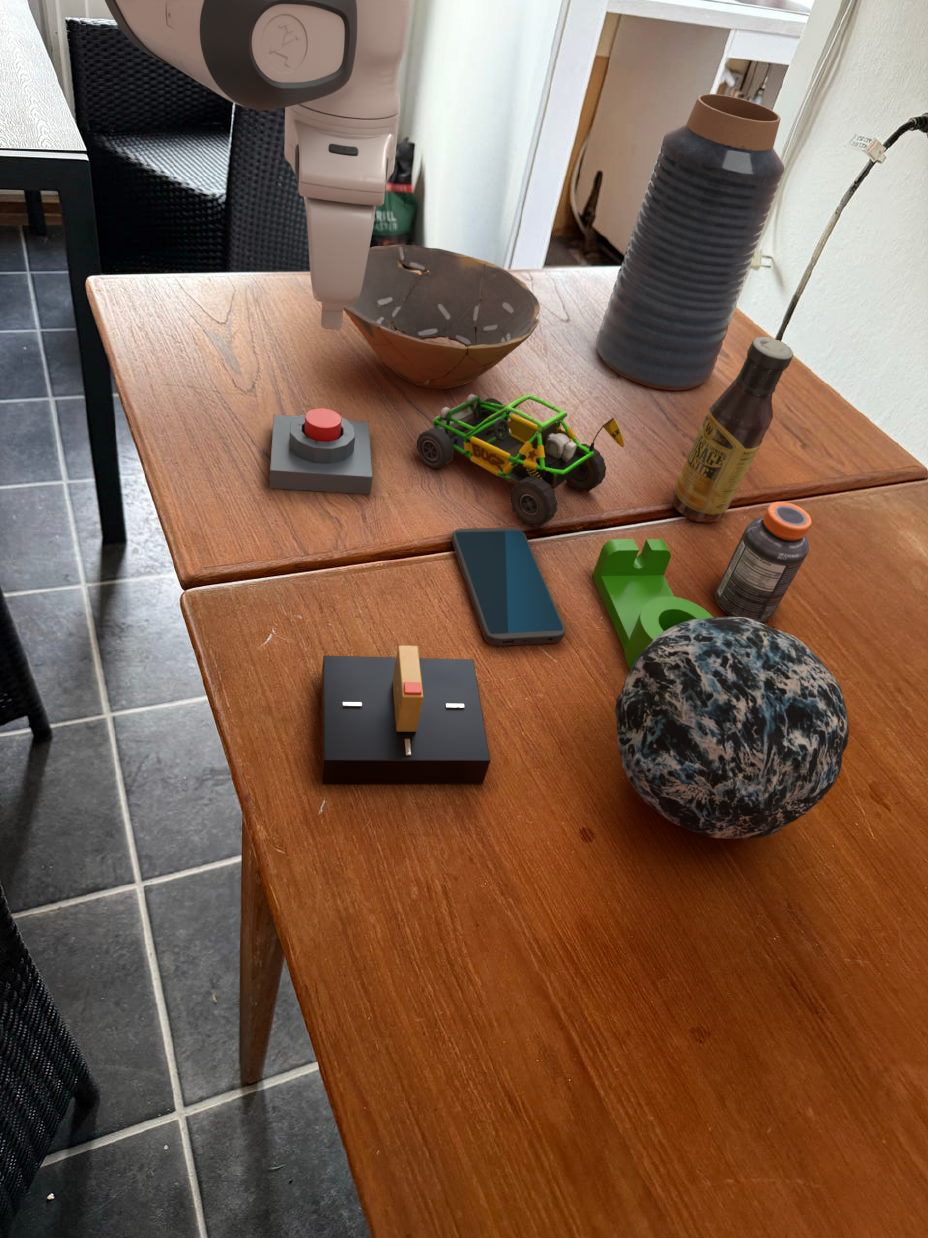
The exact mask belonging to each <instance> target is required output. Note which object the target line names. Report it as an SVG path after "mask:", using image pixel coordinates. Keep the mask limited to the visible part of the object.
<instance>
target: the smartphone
mask: <svg viewBox="0 0 928 1238" xmlns="http://www.w3.org/2000/svg"><path fill="white" fill-rule="evenodd" d="M451 543H452V546H453V550H454V552H455V556H456V557H457V561H458V564H459V567H460V570H461V573H462V576H463V579H464V582H465V585H466V587H467V591H468V593H469V596H470V599H471V602H472V603H471V604H472V606H473V609H474V611H475V614H476V618H477V620H478V621H477V622H478V624H479V626H480V630H481V632H482V635H483V638H484V640H485V641H486V642H487V643H489V644H490V645H491V646H497V647H503V646H504V647H505V646H522V645H523V646H524V645H539V644H555V643H559V642H562V640H563V638H564V637H565V634H566V627H565V624H564V622H563V620H562V617H561V615H560V613H559V611H558V608H557V606H556V603H555V601H554V599H553V596H552V594H551V591H550V589H549V587H548V585H547V583H546V580H545V578H544V575H543V572H542V570H541V568H540V565H539V564H538V561H537V559H536V557H535V554H534V552H533V550H532V548H531V545H530V542H529V540H528V538H527V536H526V534H525V532H524V531H523V530H522V529H519V528H518V527H473V528H470V527H469V528H457V529H455V530H454V531H453V532H452V535H451Z"/></svg>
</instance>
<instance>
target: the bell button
mask: <svg viewBox="0 0 928 1238" xmlns="http://www.w3.org/2000/svg"><path fill="white" fill-rule="evenodd" d="M305 414H306V415H305V430H304V431H305V434H306V436H307V437H309V438H310V439H313V440H315V441H322V442H330V441H334V440H337V439H338V438H339V436H340V432H341V417H342V416H341V415H340V414H339V413H338V412H337V411H335V410H333V409H330V408H324V407H318V408H313V409H310V410H309V411H307V412H306V413H305Z"/></svg>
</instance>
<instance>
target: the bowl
mask: <svg viewBox="0 0 928 1238" xmlns="http://www.w3.org/2000/svg"><path fill="white" fill-rule="evenodd" d="M403 265H404V266H405V267H408V268H410V269H412V270H409V269H407V268H405V267H404V266H403ZM413 270H416V271H419V272H420V273H418V272H415V271H413ZM540 310H541V304H540V301H539V300H538V298H537V296H536V295H535V294H534V293H533V291H531V290H530V288H529V287H528V285H527V284H526V283H525V282H524V281H522V280H521V279H519V278H518V277H516V276H515V275H513V273H511V272H509V271H508V270H506V268H505V269H504V268H503V267H501V266H499V265H496V264H494V263H492V262H489V261H487V260H483V259H479V258H476V257H474V256H470V255H466V254H462V253H459V252H455V251H451V250H447V249H442V248H438V247H427V246H420V245H412V244H411V245H410V244H406V245H405V244H390V245H389V244H388V245H387V244H386V245H378V246H376V245H375V246H372V247H371V246H370V248H369V253H368V259H367V264H366V270H365V275H364V280H363V285H362V289H361V293H360V296H359V299H358V301H357V303H356V304H354V305H345V306H344V311H343V312H345V313H346V315H347V316H348V317H349V319H350V320H351V322H352V323H353V325H355V327H356V328H357V329H358V331H359V332H360V334H361V335H362V337H363V338H364V339H365V340H366V342H367V343H368V345H369V346H370V347H371V348H372V350H373V351H374V352H375V353H376V355H377V356H378V357H379V358H380V359H381V360H382V362H383V363H385V365H387V367H388V368H390V369H391V370H392V371H393V372H394V373H395V374H396V375H397V376H398V377H400V378H401V379H402V380H404V381H406V382H408V383H410V384H413V385H415V386H417V387H421V388H425V389H426V388H427V389H434V390H440V389H441V390H445V389H453V388H456V387H459V386H463V385H466V384H469V383H472V382H474V381H475V380H476V379H478V378H479V377H481V376H482V375H484V374H485V373H487V372H488V371H489V370H491V369H492V368H494V367H495V366H497V364H499V363H500V362H502V361H503V359H505V358H506V357H507V356H508V355H510V354H511V353H512V352H513V351H515V349H518V347H519V346H521V345H522V344H523V343H524V342H525V341H526V340H528V338H529V337H530V336H531V335H532V334H533V333H534V331H535V330H536V329H537V327H538V325H539V324H540V321H541V320H540V319H539V318H538V315H539V313H540ZM437 338H443V339H446V338H447V339H448V340H450V341H454V342H457V343H459V344H462V345H457V344H451V343H447V342H439V341H433V340H434V339H437ZM427 339H428V340H427ZM431 340H432V341H431Z"/></svg>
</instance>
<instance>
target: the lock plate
mask: <svg viewBox="0 0 928 1238" xmlns="http://www.w3.org/2000/svg"><path fill="white" fill-rule="evenodd" d="M419 660H420V669H421V679H422V688H423V702H422V707H421V712H420V717H419V721H418V726H417V731H416V732H397V731H396V720H395V707H394V694H393V681H392V680H393V674H394V668H395V662H396V656H359V655H357V656H355V655H323V656H322V667H321V668H322V669H321V681H320V683H321V684H320V685H321V686H320V687H321V690H320V691H321V692H320V693H321V694H320V695H321V697H320V699H321V701H320V702H321V711H320V712H321V715H320V716H321V718H320V719H321V720H320V721H321V722H320V723H321V729H320V730H321V785H483V784H484V782H485V779H486V776H487V772H488V770H489V766H490V763H491V758H490V757H491V756H490V751H489V745H488V744H489V743H488V739H487V731H486V726H485V721H484V715H483V709H482V708H483V707H482V703H481V695H480V690H479V684H478V679H477V673H476V667H475V660H474V659H473V658H472V659H470V658H438V657H437V658H436V657H435V658H434V657H419Z"/></svg>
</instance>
